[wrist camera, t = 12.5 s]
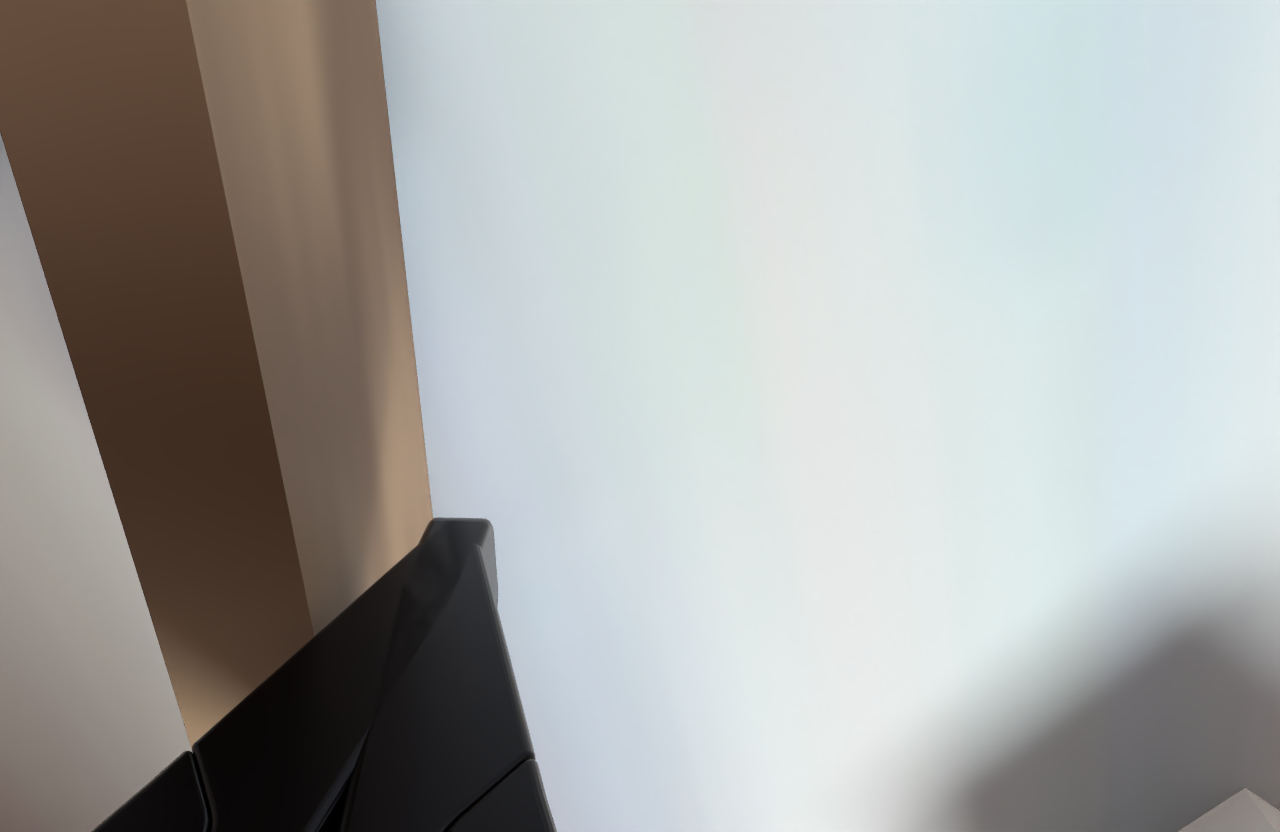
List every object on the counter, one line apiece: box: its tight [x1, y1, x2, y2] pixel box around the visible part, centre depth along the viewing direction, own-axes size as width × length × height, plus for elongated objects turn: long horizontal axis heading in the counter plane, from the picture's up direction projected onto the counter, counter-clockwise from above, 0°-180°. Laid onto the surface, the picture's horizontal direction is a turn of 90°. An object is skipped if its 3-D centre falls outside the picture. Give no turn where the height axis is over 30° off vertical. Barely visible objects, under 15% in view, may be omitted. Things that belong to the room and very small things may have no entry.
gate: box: [0, 0, 433, 748], centre depth 8 cm, size 13×2×5 cm, turn 179°
